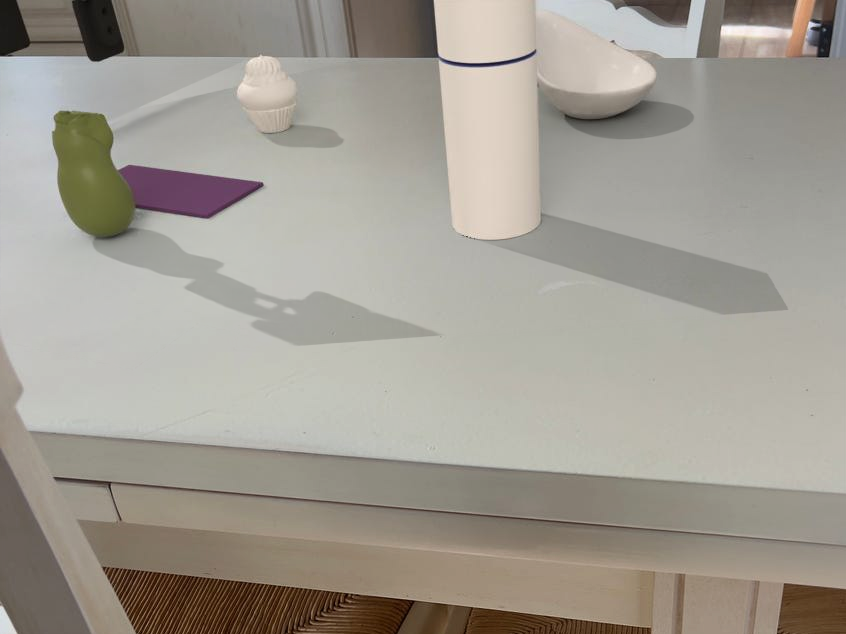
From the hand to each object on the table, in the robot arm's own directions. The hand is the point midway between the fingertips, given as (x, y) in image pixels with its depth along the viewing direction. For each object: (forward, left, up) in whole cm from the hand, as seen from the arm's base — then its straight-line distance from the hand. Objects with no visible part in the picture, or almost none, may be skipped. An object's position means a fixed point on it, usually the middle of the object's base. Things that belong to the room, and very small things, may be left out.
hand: (59, 53), depth 76 cm
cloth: (-2, +9, -14) cm, 17 cm away
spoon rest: (+22, +44, -14) cm, 51 cm away
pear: (0, 0, -14) cm, 14 cm away
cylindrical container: (+30, +12, -14) cm, 35 cm away
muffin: (-3, +27, -14) cm, 31 cm away
